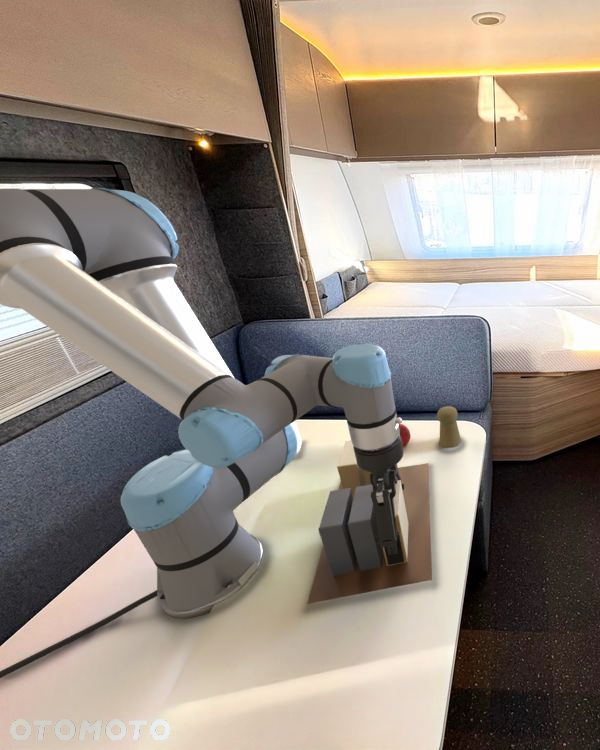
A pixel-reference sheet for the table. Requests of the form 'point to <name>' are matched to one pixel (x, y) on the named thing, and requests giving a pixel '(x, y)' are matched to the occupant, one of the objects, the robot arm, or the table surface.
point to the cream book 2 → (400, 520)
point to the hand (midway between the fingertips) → (397, 539)
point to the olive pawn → (448, 427)
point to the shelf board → (386, 575)
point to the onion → (404, 434)
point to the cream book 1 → (350, 469)
